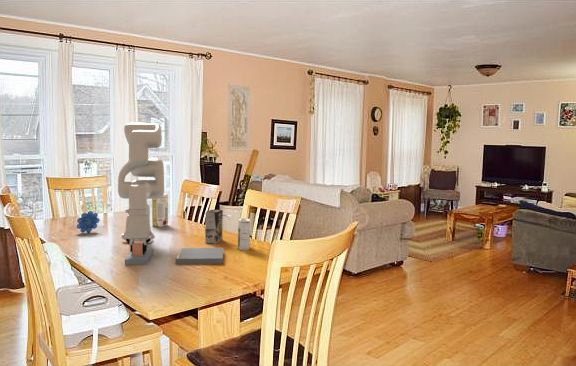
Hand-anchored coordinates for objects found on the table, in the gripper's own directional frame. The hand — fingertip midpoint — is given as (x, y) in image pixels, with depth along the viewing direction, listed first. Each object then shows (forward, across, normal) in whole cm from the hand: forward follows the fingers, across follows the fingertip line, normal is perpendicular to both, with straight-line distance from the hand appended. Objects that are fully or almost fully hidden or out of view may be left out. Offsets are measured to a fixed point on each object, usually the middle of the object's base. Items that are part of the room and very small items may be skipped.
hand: (138, 252), depth 205 cm
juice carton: (+3, -1, +72) cm, 72 cm away
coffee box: (+3, +32, +32) cm, 45 cm away
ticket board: (+3, +27, 0) cm, 27 cm away
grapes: (+3, -37, +55) cm, 66 cm away
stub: (+3, 0, 0) cm, 3 cm away
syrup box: (+3, +47, +17) cm, 50 cm away
